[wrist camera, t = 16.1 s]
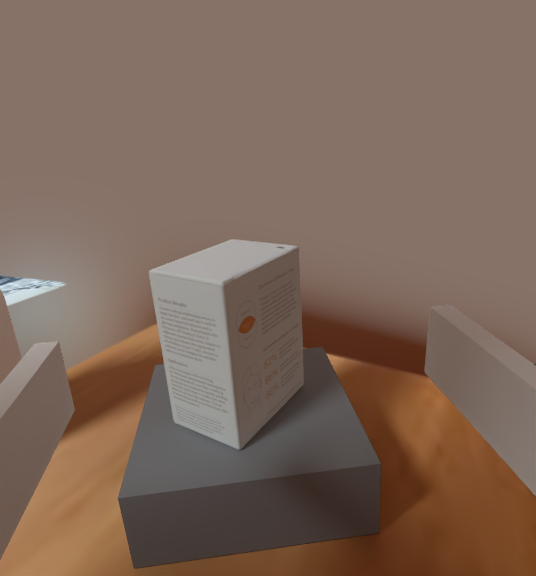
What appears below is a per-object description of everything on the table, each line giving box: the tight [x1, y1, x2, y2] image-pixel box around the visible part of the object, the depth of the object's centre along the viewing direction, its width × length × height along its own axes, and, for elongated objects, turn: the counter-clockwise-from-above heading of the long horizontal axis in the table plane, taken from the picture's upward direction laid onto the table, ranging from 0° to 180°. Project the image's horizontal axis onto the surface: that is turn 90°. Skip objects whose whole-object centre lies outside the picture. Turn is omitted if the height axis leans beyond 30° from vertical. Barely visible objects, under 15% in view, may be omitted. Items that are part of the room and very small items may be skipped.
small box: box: [149, 239, 304, 450], centre depth 28 cm, size 8×6×10 cm
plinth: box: [118, 347, 381, 568], centre depth 30 cm, size 14×14×5 cm
